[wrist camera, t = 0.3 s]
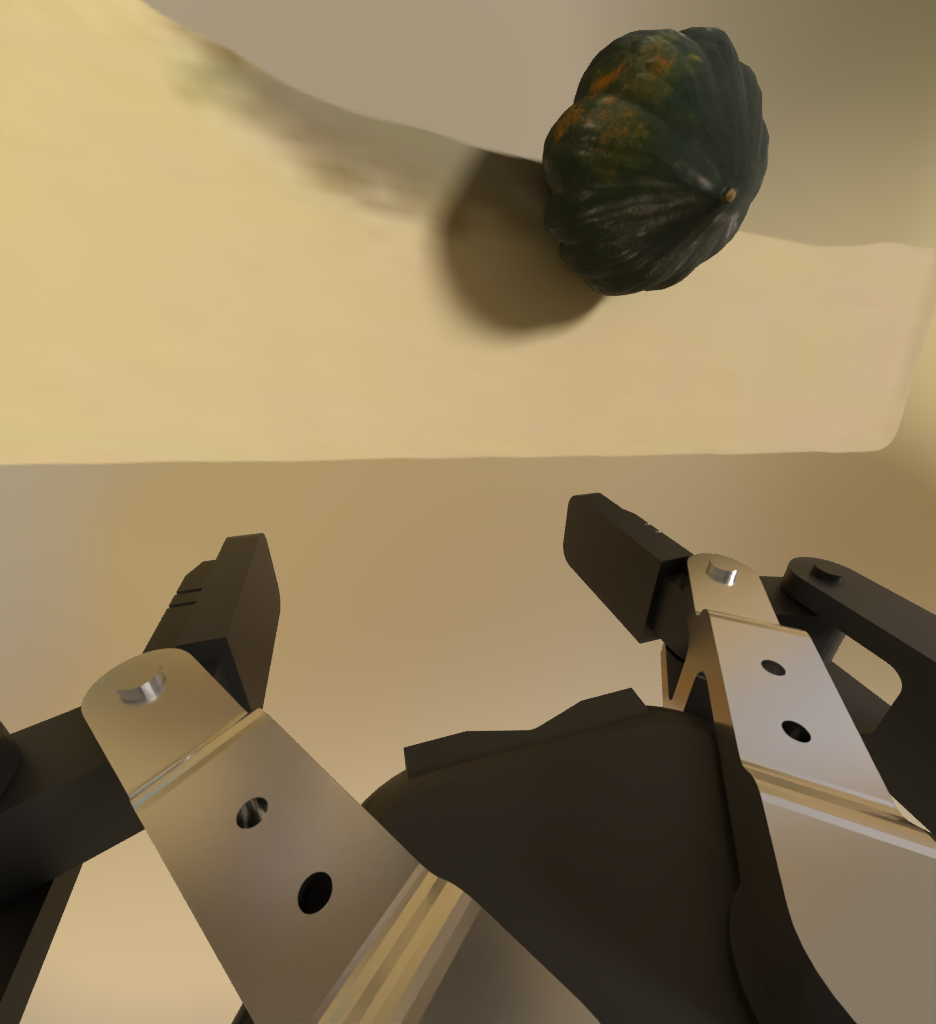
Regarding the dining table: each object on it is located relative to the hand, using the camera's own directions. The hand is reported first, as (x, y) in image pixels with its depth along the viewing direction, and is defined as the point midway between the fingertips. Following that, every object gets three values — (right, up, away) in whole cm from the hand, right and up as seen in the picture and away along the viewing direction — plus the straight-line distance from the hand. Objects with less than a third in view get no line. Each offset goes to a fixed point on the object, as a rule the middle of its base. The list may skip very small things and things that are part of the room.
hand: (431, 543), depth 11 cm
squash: (+12, +27, +24) cm, 38 cm away
